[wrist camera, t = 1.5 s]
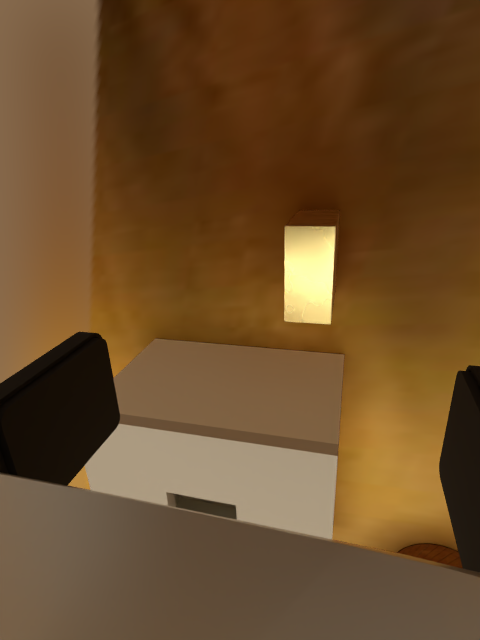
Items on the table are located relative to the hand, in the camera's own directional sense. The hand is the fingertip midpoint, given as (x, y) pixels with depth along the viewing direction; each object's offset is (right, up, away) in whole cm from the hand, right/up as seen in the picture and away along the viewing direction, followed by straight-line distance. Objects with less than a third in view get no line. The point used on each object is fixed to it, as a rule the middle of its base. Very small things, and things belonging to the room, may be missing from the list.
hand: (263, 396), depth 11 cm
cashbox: (0, -7, +21) cm, 22 cm away
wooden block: (+4, +6, +14) cm, 16 cm away
